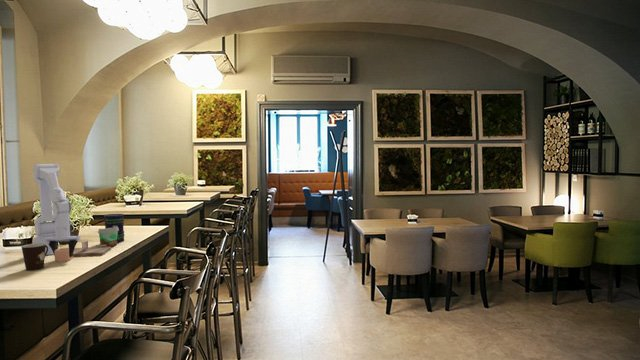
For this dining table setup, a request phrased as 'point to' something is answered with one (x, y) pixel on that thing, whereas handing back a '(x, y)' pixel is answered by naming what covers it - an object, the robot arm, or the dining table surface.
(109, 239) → the food container
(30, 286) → the dining table surface
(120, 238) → the storage jar
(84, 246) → the post
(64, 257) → the collar
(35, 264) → the coffee mug
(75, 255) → the board
